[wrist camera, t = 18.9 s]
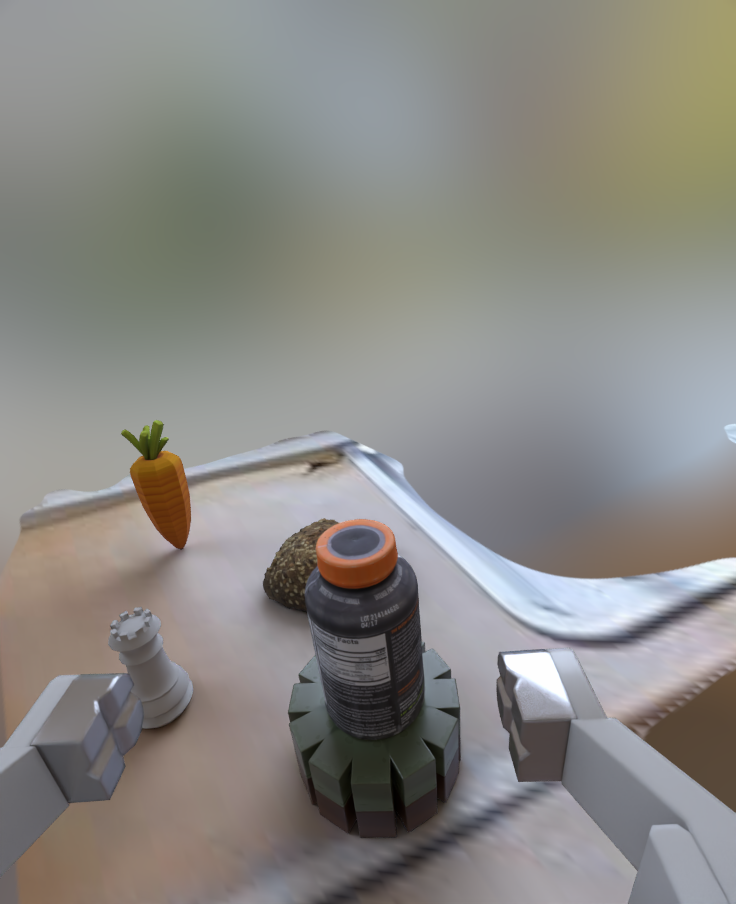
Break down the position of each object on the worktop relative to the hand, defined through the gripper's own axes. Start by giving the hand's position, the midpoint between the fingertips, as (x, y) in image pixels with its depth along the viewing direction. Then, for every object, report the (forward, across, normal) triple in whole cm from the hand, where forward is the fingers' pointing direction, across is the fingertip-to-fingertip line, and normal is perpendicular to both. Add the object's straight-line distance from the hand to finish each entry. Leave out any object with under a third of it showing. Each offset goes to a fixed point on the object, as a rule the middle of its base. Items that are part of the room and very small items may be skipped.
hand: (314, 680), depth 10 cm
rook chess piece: (+16, +16, +21) cm, 31 cm away
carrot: (+36, +21, +21) cm, 47 cm away
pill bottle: (+12, 0, +16) cm, 20 cm away
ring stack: (+12, 0, +21) cm, 24 cm away
